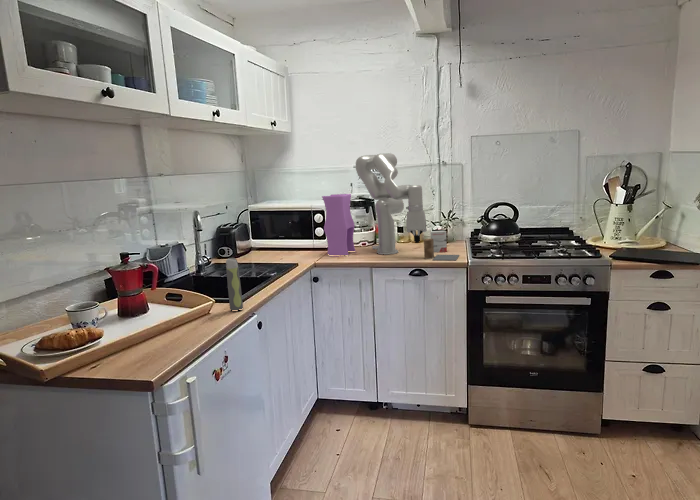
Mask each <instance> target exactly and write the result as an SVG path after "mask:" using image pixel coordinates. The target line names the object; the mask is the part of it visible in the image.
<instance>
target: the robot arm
mask: <svg viewBox="0 0 700 500" xmlns="http://www.w3.org/2000/svg"><path fill="white" fill-rule="evenodd" d="M397 165H398V159H397V157H396V155H395V154H393V153H391V152H390V153H378V154H377V153H376V154H366V155H361V156H359V157H357V159H356V161H355V171H356V174H357V175H358V177H359V179H360V180H361V181H362V183H363V184H364V186H365V188H366V190H367V192H368V193H369V195H370V197H371V198H372V199H373V200H374V201H376V202H375V205H374V206H375V207H374V209H375V214H376V218H377V219H376V220H377V231H378V232H377V233H378V245H372V247H371V248H372V250H376V254H377V253H378V255H383V254H384V255H385V256H386V255H394V254H395V255H396V254H398V253H399V250H398V249H397V248H396V230H395V229H396V228H395V220H394V217H392V215H396V214H400V213H402V212H403V210H404V209H405V210H407V213H406V222H405V223H406V226H405V227H406V232H407V233H410V234H411V235H413V241H414V242H415V244H419V243H420V242H421V235H422V233H425V232H427V231H428V230H427V218H426V214H425V213H426V212H425V210H424V203H423V201H424V199H423V187H422V185H419V184H418V185H417V184H416V185H413V184H400V185H397V184H396V183H395V182H394V181H393V180H394V179H396V177H398V174H399V171H398V169H397ZM373 170H376V171H378V172H379V174H380V176H382V177H383V179H384V182H381V181H380V180H379V178H378V176H377V175H376V173H374V172H373ZM403 200H407V202H408V203H407V204H408V205H407V206H406V207H405V204H404V201H403Z"/></svg>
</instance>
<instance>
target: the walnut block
mask: <svg viewBox="0 0 700 500" xmlns="http://www.w3.org/2000/svg"><path fill="white" fill-rule="evenodd" d="M423 252H424V253H423V254H424V259H425V260H433V259H434V257H435V252H434V239H431V238H424V239H423Z"/></svg>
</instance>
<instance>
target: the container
mask: <svg viewBox="0 0 700 500" xmlns="http://www.w3.org/2000/svg"><path fill="white" fill-rule="evenodd" d="M321 198H322V200H323V203H324V207H325V211H326V213H325V214H326V215H325V221H324V226H323V230H324V234H325V237H326V240H327V254H329V255H349V254H350V253H348V251H356V247H355V243H354V232H355V222H354V219H353V217H352V212H351V199H352V193H340V194H338V193H337V194H330V195H322V196H321ZM356 252H357V251H356ZM349 256H350V255H349Z"/></svg>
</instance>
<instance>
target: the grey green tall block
mask: <svg viewBox="0 0 700 500" xmlns="http://www.w3.org/2000/svg"><path fill="white" fill-rule="evenodd" d="M225 267H226V279H227V292H228V300H229V301H228V303H229V310H230V309H231V310H239V309H242V308H243V309H244V305H243V295H242V286H241V279H240V269H239V263H238V260H237V258H235V257H229V258H226V259H225Z"/></svg>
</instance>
